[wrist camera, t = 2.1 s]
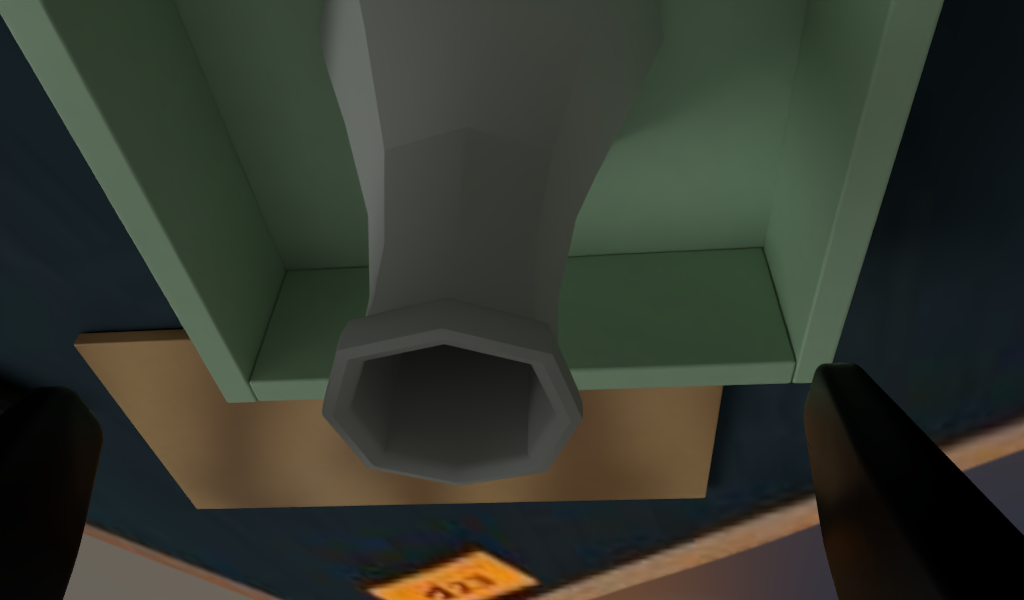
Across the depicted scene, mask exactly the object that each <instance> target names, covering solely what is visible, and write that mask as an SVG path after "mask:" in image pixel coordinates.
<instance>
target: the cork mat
mask: <svg viewBox="0 0 1024 600" xmlns="http://www.w3.org/2000/svg"><path fill="white" fill-rule="evenodd" d="M74 346H75V347H76V349H77V350H78V351H79V353H80V354H81V355H82V357H83V358H84V359H85V361H86V362H87V363H88V365H89V366H90V367H91V369H92V370H93V371H94V373H95V374H96V375H97V377H98V378H99V379H100V381H101V382H102V383H103V385H104V386H105V387H106V389H107V390H108V391H109V393H110V394H111V395H112V397H113V398H114V399H115V401H116V402H117V403H118V405H119V406H120V407H121V409H122V410H123V411H124V413H125V414H126V415H127V417H128V418H129V419H130V421H131V422H132V423H133V425H134V426H135V427H136V429H137V430H138V431H139V433H140V434H141V435H142V437H143V438H144V439H145V441H146V442H147V443H148V445H149V446H150V447H151V449H152V450H153V451H154V453H155V454H156V455H157V456H158V458H159V459H160V460H161V462H162V463H163V464H164V466H165V467H166V468H167V470H168V471H169V472H170V474H171V475H172V476H173V478H174V479H175V480H176V482H177V483H178V484H179V486H180V487H181V488H182V490H183V491H184V492H185V494H186V495H187V496H188V498H189V499H190V500H191V502H192V503H193V504H194V506H195V507H196V508H197V509H220V508H265V507H311V506H357V505H402V504H448V503H493V502H539V501H584V500H630V499H675V498H705V497H706V491H707V485H708V478H709V472H710V466H711V459H712V453H713V447H714V441H715V434H716V428H717V422H718V415H719V409H720V403H721V397H722V390H723V385H718V386H689V387H659V388H630V389H601V390H578V391H579V394H580V397H581V400H582V403H583V419H582V421H581V422H580V424H579V425H578V427H577V428H576V430H575V431H574V433H573V434H572V436H571V437H570V439H569V440H568V442H567V443H566V445H565V446H564V448H563V449H562V451H561V452H560V454H559V455H558V457H557V458H556V460H555V461H554V463H553V464H552V466H551V467H550V469H549V470H548V472H545V473H538V474H532V475H526V476H519V477H513V478H507V479H500V480H494V481H488V482H481V483H475V484H469V485H462V486H456V485H451V484H446V483H440V482H435V481H430V480H425V479H420V478H415V477H410V476H405V475H400V474H394V473H389V472H384V471H379V470H374V469H369V468H367V467H366V466H365V465H364V464H363V462H362V461H361V460H360V459H359V458H358V456H357V455H356V454H355V453H354V452H353V451H352V449H351V448H350V447H349V446H348V445H347V444H346V442H345V441H344V440H343V439H342V438H341V436H340V435H339V434H338V433H337V432H336V431H335V429H334V428H333V427H332V426H331V425H330V424H329V422H328V421H327V420H326V419H325V418H324V416H323V415H322V408H323V403H324V399H311V400H281V401H259V400H258V401H257V402H240V403H228V402H227V401H226V399H225V397H224V396H223V394H222V392H221V391H220V389H219V387H218V386H217V384H216V382H215V380H214V379H213V377H212V375H211V374H210V372H209V370H208V368H207V367H206V365H205V363H204V362H203V360H202V358H201V356H200V355H199V353H198V351H197V350H196V348H195V346H194V344H193V343H192V341H191V339H190V338H189V336H188V334H187V332H186V331H185V329H175V330H152V331H129V332H106V333H83V334H80V335H79V336H78V338H77V340H76V342H75V343H74Z"/></svg>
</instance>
